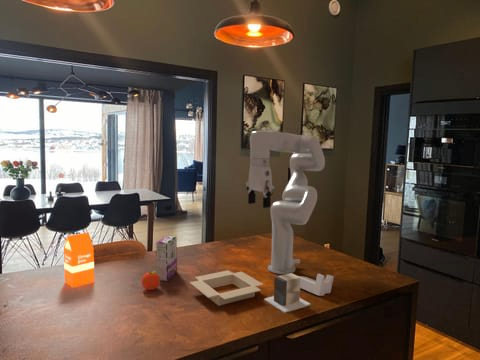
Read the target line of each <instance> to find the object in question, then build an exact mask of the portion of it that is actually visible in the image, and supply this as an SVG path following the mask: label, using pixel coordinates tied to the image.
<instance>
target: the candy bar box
mask: <svg viewBox="0 0 480 360" xmlns="http://www.w3.org/2000/svg"><path fill="white" fill-rule="evenodd" d="M177 242H178V241H177V236H175V235H166V236H164V237H163V238H161V239H160V240H157V242H156V243H155V245H156V247H155V248H156V249H155V250H156V273H157V274H158V275H159V277H160V282H161V281H162V282H169V280H170V279H171V278H173V276H174V275H175V274H177V272H178V255H177V254H178V252H177V251H178V250H177V245H178V244H177ZM158 272H159V273H158ZM160 274H161V275H160Z"/></svg>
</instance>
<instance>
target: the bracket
mask: <svg viewBox="0 0 480 360" xmlns="http://www.w3.org/2000/svg"><path fill="white" fill-rule="evenodd" d="M298 276H299V275H298ZM299 277H300V289H302V290H305V291H307V292H309V293H311V294H314V295H316V296H319V297H322V296H323V297H324V296H325V294H330V293H331V291H332V287H333V283H334V276H333V275H331V274H326V276H325V275H323V274H321V273H316V279H313V278H309V277H308V276H301V275H300V276H299Z"/></svg>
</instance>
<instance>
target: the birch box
mask: <svg viewBox="0 0 480 360" xmlns="http://www.w3.org/2000/svg"><path fill="white" fill-rule="evenodd" d="M273 280H274V282H273V283H274V284H273V285H274V286H273V288H274V289H273V296H274V301H275V302H276V303H278V304H280V305H281V306H285V305H288V304H292V303H295V302H299V301H300V298H301V288H300V277H299V275H296V274H294V273H290V274H280V275H277V276H274V279H273Z"/></svg>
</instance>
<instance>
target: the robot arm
mask: <svg viewBox="0 0 480 360" xmlns="http://www.w3.org/2000/svg"><path fill="white" fill-rule="evenodd" d="M249 144H250V150H249V151H250V153H249V154H250V157H249V158H250V159H249V171H248V180H247V181H246V182H245V186H246V190H247V194H248V195H247V197H248V200H247V201H248V204H249V205H252V204H256V197H257V196H256V194H257V193H256V192H260V193H262V195H263V197H262V207H263V208H264V209H266V208H267V209H270V219H271V255H270V256H271V257H270V258H271V259H270V260H271V261H270V264H268V265H267V270H268V272H271V273H274V274H276V275H285V274H290V273H292V274H294V273H295V272H296V268H297V267H296V266H295V265H296V264H301V259H299V258H297V259H295V258H293V253H294V252H293V251H294V229H293V228H292V226H291V224H292V225H298V226H302V225H303V226H304V225H306V224H307V222H308V221H309V220H310V217H311V216H312V213H313V211H314V209H315V207H316V205H317V201H318V192H317V189H316V188H315V187H314V186H310V185H308V183H309V182H308V178H307V176H306V174H305V173H304V172H303V171H309V172H311V171H312V172H320V171H322V170H324V168H325V164H326V160H325V159H326V158H325V155H324V152H323V149H322V146H321V143H320V141H319V139H318V138H317V137H316V136H315V135H307V134H306V135H305V134H301V135H300V134H295V133H289V132H281V131H280V130H261V129H260V130H253V131H251V133H250V136H249ZM271 151H273V152H280V153H281V152H282V153H291V154H292V155H291V156H290V159H289V170H290V178H289V180H288V183H287V184H286V186H285V187H284V190H283V192H282V194H281V195H282V196H281V199H282V200H276V201H274V202H273V203H272V204H271V198H273V197H272V196H273V194H274V191H275V186H274V185H273V180H272V179H273V178H272V169H271V166H270V152H271Z"/></svg>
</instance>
